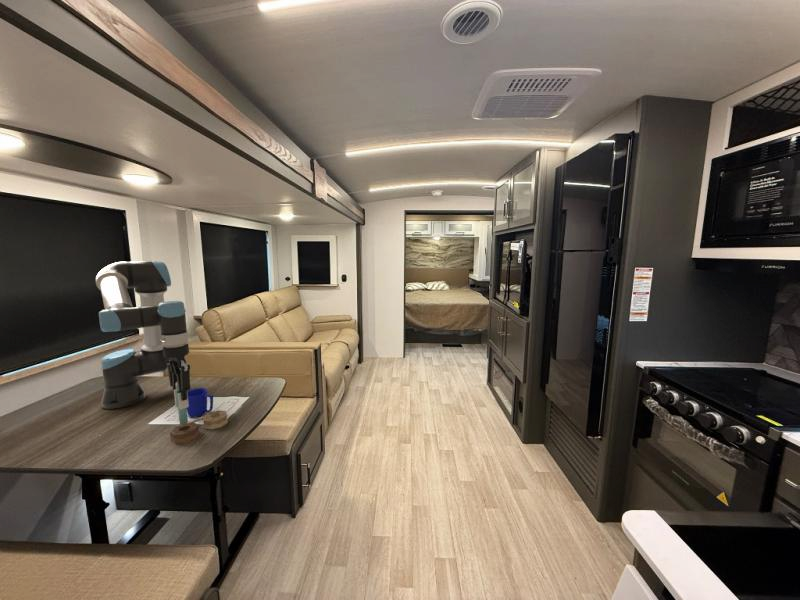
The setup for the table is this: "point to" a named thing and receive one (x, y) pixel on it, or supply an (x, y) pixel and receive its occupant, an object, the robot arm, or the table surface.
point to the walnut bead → (184, 433)
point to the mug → (198, 402)
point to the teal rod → (183, 412)
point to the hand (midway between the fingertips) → (182, 406)
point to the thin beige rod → (195, 419)
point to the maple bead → (215, 419)
